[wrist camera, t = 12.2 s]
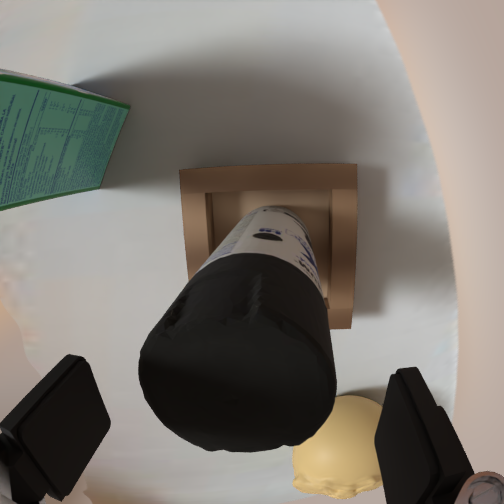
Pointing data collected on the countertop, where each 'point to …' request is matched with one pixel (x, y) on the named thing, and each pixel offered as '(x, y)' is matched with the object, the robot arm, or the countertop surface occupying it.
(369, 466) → the sculpture
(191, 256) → the socket block
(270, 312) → the spray can
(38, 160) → the milk carton
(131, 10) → the countertop surface
